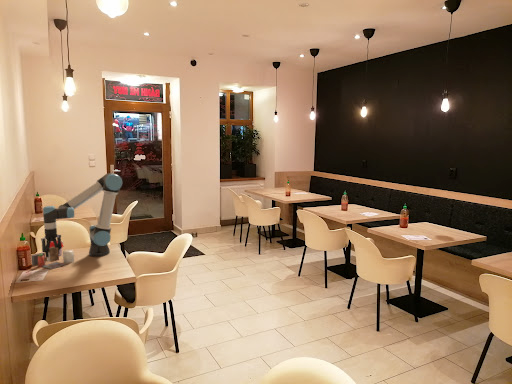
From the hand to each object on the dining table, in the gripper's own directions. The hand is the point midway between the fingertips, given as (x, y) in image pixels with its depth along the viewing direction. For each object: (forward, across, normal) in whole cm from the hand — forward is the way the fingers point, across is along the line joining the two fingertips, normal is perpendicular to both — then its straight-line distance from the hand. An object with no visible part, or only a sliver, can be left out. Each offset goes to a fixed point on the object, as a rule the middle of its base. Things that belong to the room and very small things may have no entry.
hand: (53, 260), depth 272 cm
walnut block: (0, 0, 0) cm, 0 cm away
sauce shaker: (+5, +4, -8) cm, 10 cm away
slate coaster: (+4, 0, 0) cm, 4 cm away
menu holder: (+5, +2, -15) cm, 16 cm away
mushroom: (+5, -16, -22) cm, 28 cm away
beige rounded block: (+4, -11, +1) cm, 12 cm away
